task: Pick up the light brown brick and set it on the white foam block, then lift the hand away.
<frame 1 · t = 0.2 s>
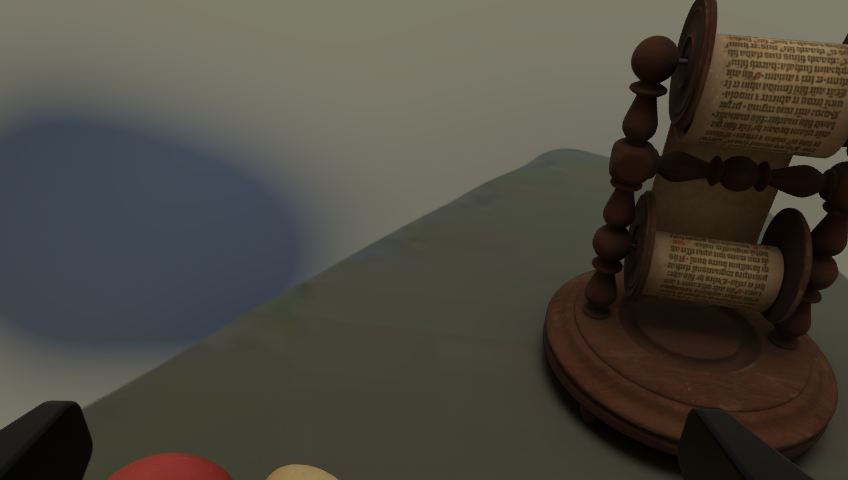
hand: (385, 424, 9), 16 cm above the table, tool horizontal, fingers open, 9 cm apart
brown upright round-based piece: (669, 377, 34), on the table
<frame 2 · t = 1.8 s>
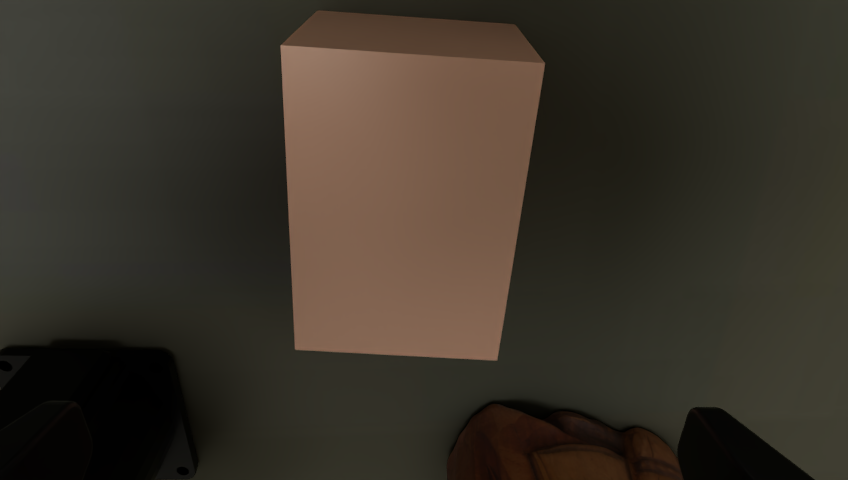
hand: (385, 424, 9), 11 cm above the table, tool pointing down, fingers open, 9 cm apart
light brown brick: (409, 151, 19), on the table
wooden figurine: (572, 463, 26), on the table
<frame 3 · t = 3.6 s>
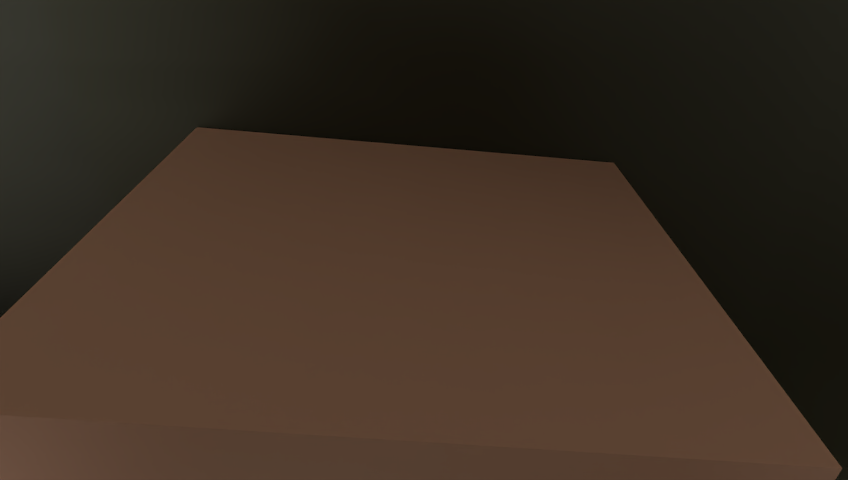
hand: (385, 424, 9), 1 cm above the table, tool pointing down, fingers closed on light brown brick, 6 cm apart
light brown brick: (389, 376, 10), on the table, touching gripper
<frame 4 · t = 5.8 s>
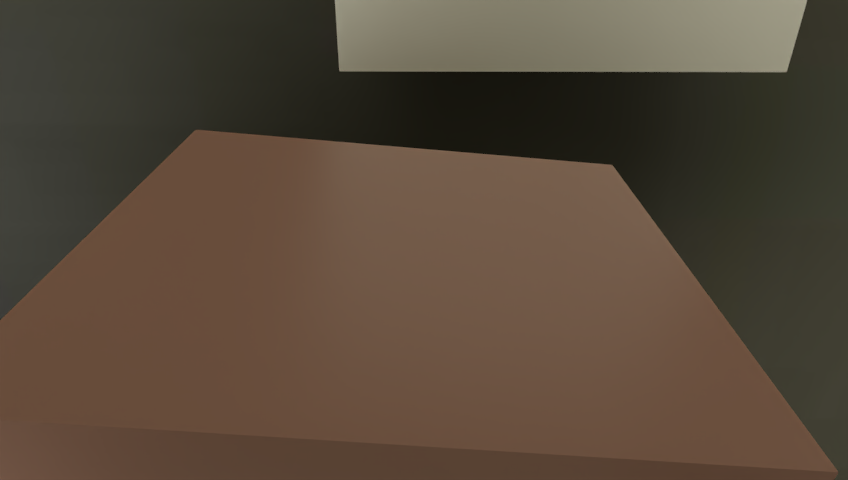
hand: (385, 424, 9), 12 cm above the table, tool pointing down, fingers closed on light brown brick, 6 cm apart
light brown brick: (388, 378, 10), point 11 cm above the table, touching gripper
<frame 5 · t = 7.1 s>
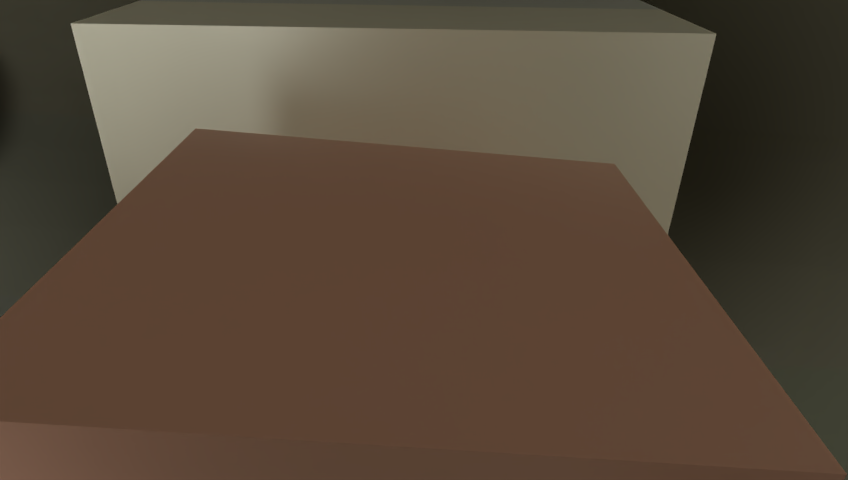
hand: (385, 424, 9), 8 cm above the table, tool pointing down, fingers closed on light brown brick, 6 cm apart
light brown brick: (389, 378, 10), point 7 cm above the table, touching gripper
white foam block: (404, 190, 16), on the table
when the fingers open (7 cm above the table, at t = 8.1 s): light brown brick drops 1 cm, resting on white foam block.
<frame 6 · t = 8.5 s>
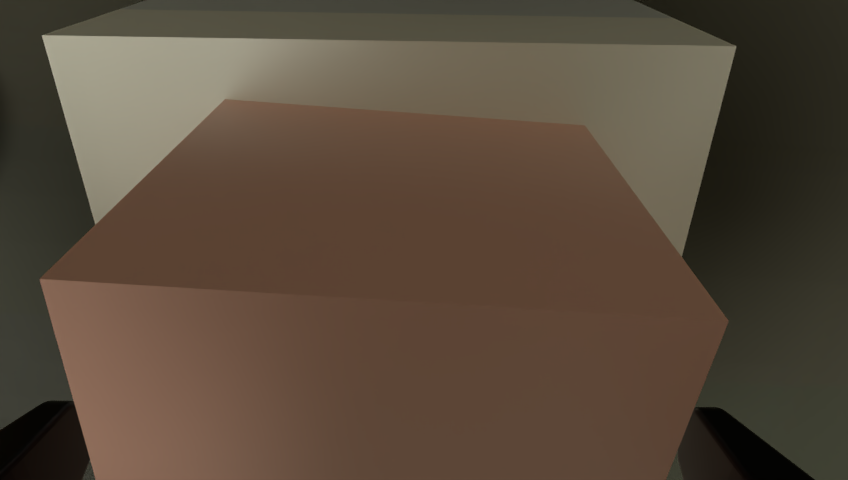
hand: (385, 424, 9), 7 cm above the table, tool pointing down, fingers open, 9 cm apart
light brown brick: (393, 323, 11), point 5 cm above the table, touching white foam block
white foam block: (402, 203, 15), on the table
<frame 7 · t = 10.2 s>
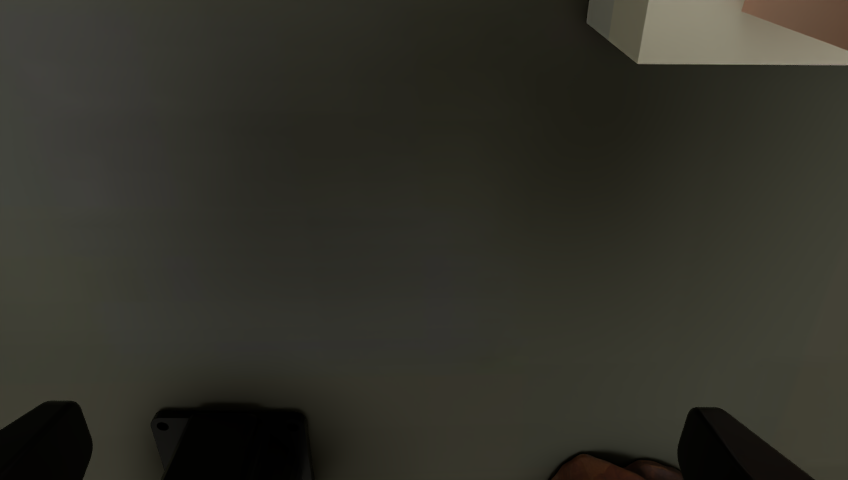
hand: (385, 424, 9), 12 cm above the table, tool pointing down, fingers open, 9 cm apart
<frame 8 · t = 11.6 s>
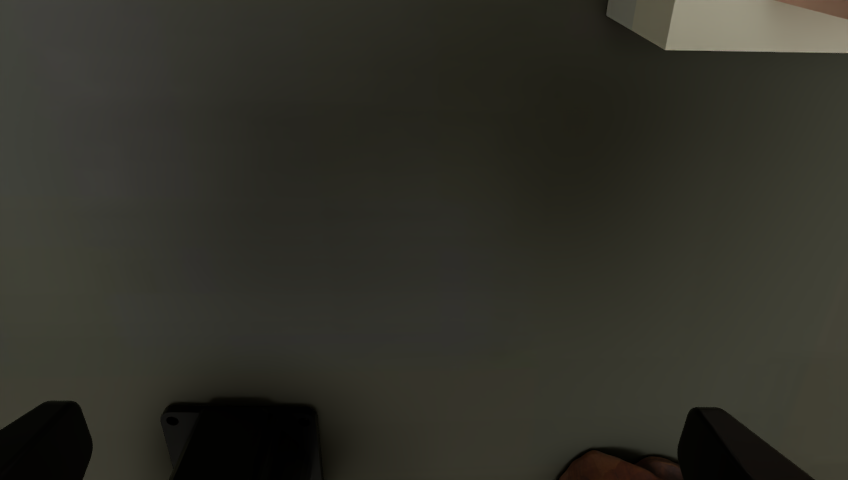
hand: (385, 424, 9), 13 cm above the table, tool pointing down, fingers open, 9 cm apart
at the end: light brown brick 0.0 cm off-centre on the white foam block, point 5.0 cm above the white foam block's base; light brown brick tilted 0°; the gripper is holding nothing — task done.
